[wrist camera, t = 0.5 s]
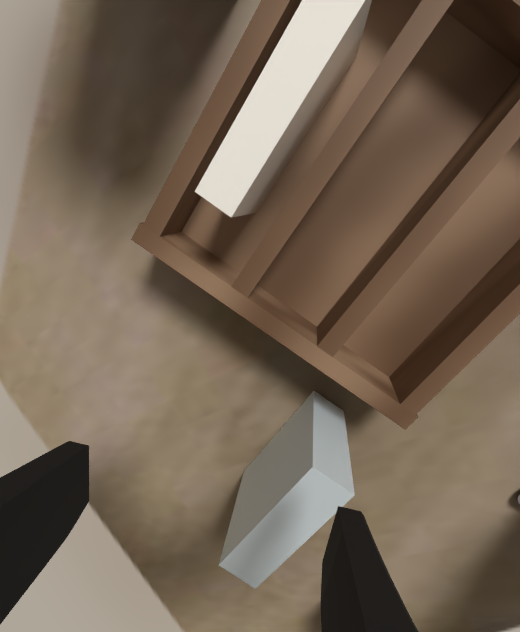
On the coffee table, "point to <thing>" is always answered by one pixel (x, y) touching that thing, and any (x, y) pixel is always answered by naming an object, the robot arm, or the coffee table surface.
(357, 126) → the rack
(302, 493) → the pale blue rectangular prism
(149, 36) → the coffee table surface
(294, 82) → the tile
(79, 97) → the coffee table surface
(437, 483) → the coffee table surface
